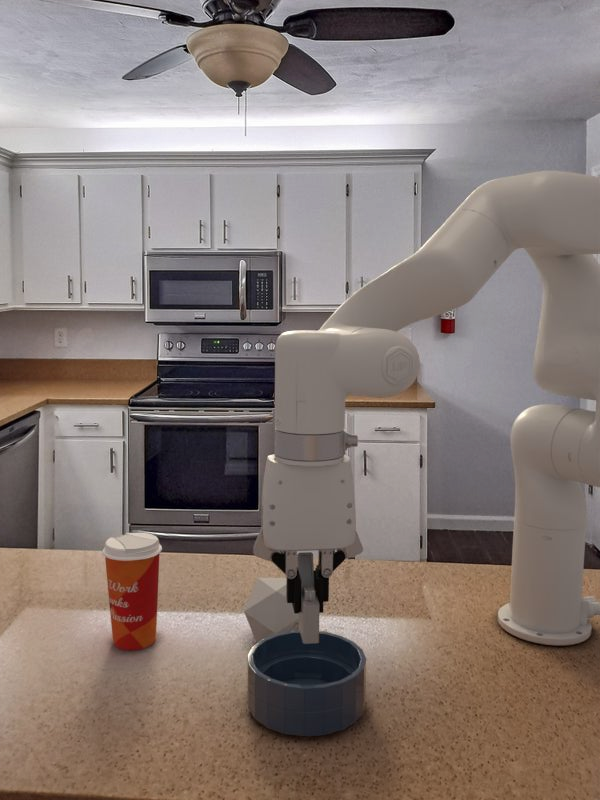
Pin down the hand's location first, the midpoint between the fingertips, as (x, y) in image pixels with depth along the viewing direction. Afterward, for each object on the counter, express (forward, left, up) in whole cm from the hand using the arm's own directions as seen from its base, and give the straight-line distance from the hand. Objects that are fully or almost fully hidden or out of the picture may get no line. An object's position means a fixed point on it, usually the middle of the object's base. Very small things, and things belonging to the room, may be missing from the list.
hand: (307, 606), depth 81 cm
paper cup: (+21, -18, -12) cm, 30 cm away
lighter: (0, 0, -3) cm, 3 cm away
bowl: (0, 0, -12) cm, 12 cm away
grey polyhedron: (+2, -17, -12) cm, 21 cm away
